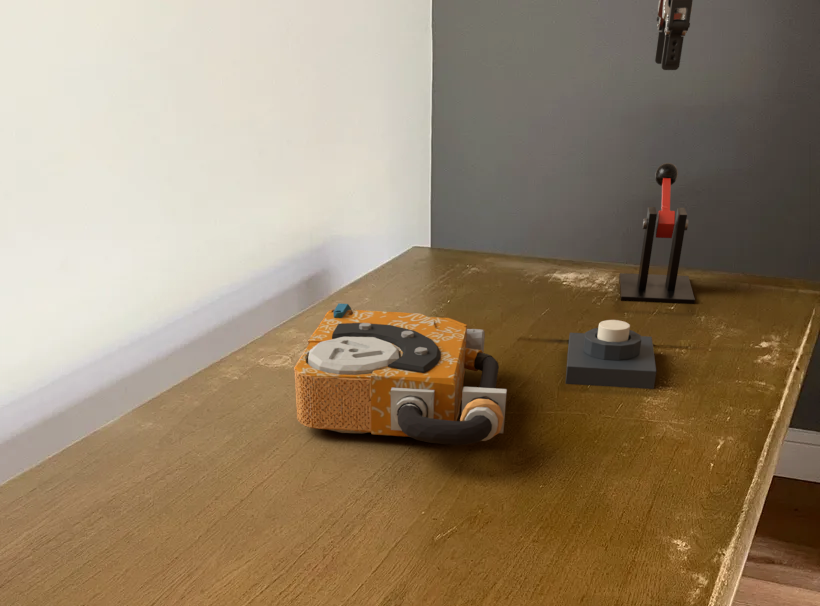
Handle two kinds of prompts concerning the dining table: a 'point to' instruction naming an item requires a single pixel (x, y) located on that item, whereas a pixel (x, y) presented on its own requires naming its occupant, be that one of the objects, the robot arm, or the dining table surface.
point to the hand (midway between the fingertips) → (666, 66)
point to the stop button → (613, 331)
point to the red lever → (665, 200)
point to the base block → (610, 361)
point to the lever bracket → (659, 286)
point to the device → (398, 378)
